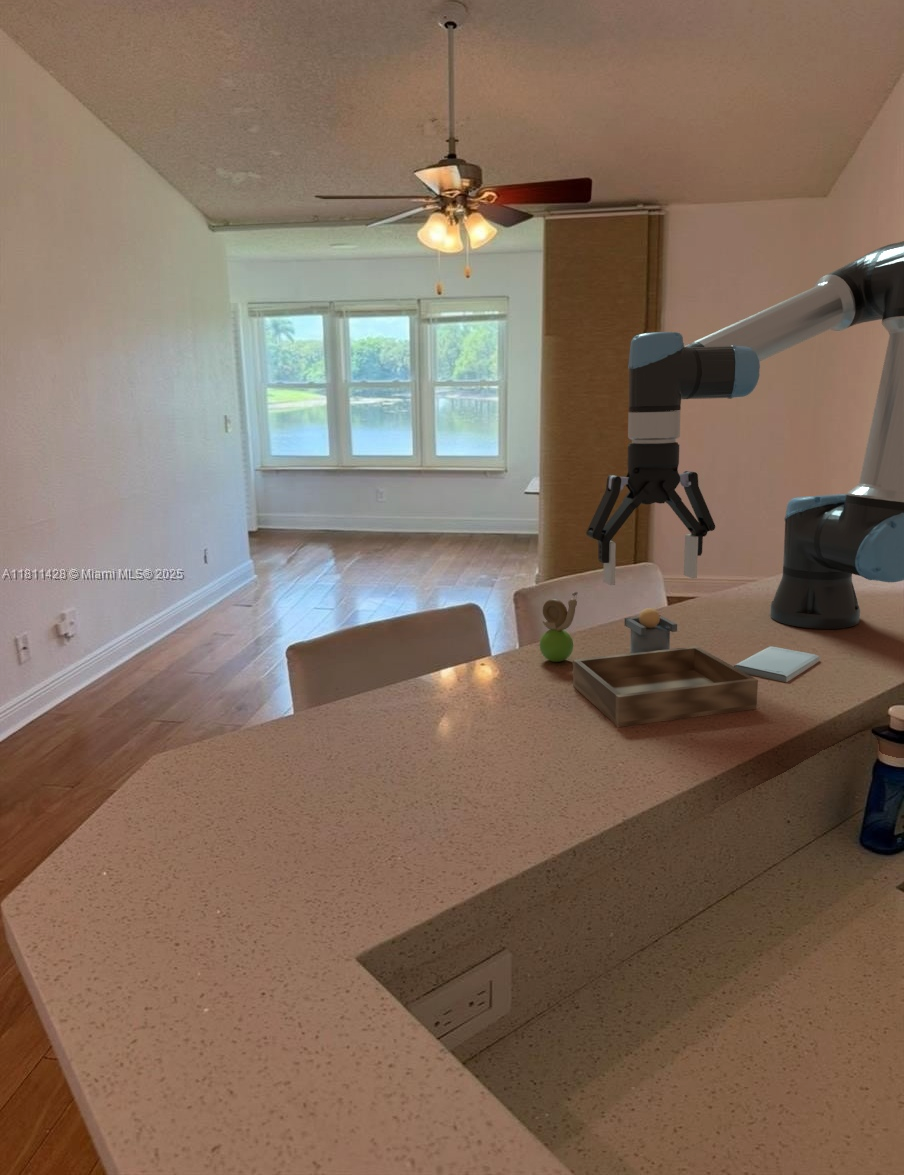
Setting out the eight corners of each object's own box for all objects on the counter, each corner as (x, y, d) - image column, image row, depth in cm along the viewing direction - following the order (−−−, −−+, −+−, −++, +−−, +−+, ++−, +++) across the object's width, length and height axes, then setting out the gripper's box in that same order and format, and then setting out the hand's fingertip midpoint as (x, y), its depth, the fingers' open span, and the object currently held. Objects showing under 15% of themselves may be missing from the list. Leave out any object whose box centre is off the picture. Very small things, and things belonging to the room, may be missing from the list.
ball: (654, 624, 127) (653, 605, 126) (663, 628, 124) (663, 609, 123) (635, 627, 126) (635, 607, 126) (644, 631, 123) (644, 611, 123)
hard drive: (786, 675, 116) (819, 654, 124) (733, 664, 122) (768, 644, 130) (786, 686, 116) (819, 664, 125) (733, 674, 122) (768, 654, 130)
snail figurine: (568, 669, 125) (568, 595, 123) (533, 662, 129) (532, 591, 126) (584, 660, 130) (584, 588, 127) (550, 653, 133) (549, 584, 131)
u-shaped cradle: (658, 657, 130) (659, 614, 128) (676, 668, 124) (677, 624, 122) (624, 660, 129) (624, 618, 127) (640, 672, 123) (641, 627, 121)
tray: (695, 671, 122) (696, 646, 121) (756, 708, 107) (757, 680, 106) (573, 686, 118) (573, 659, 117) (618, 726, 103) (618, 697, 102)
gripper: (715, 437, 125) (710, 569, 129) (565, 443, 119) (565, 581, 124) (742, 438, 117) (736, 578, 122) (584, 445, 112) (583, 591, 117)
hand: (650, 580), depth 123 cm, fingers open, 13 cm apart
